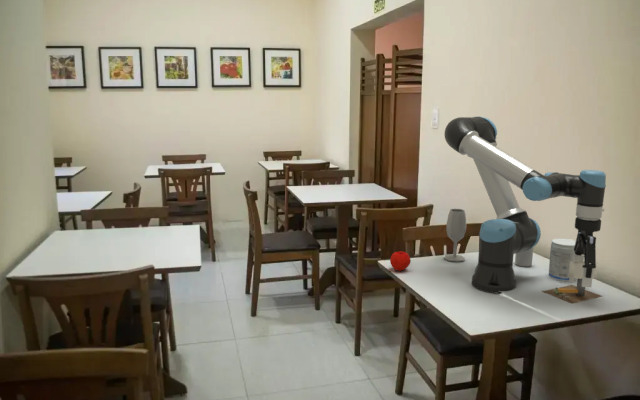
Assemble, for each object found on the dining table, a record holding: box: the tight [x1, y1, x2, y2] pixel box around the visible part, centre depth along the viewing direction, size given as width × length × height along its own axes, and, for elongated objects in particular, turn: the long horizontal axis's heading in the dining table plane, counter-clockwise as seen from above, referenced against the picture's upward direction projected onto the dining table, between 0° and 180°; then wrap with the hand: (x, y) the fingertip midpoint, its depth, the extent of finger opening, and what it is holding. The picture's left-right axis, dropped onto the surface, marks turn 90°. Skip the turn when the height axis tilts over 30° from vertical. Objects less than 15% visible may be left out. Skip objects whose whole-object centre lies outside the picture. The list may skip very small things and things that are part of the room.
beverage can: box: [514, 247, 534, 268], centre depth 207 cm, size 6×6×12 cm
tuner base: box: [541, 284, 603, 305], centre depth 174 cm, size 15×12×2 cm
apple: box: [389, 251, 412, 272], centre depth 199 cm, size 8×8×7 cm
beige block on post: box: [557, 261, 598, 296], centre depth 172 cm, size 12×3×11 cm, turn 88°
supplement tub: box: [548, 238, 577, 283], centre depth 189 cm, size 10×10×15 cm
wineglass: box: [443, 208, 467, 263], centre depth 213 cm, size 9×9×21 cm
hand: (581, 280), depth 172 cm, fingers open, 13 cm apart
